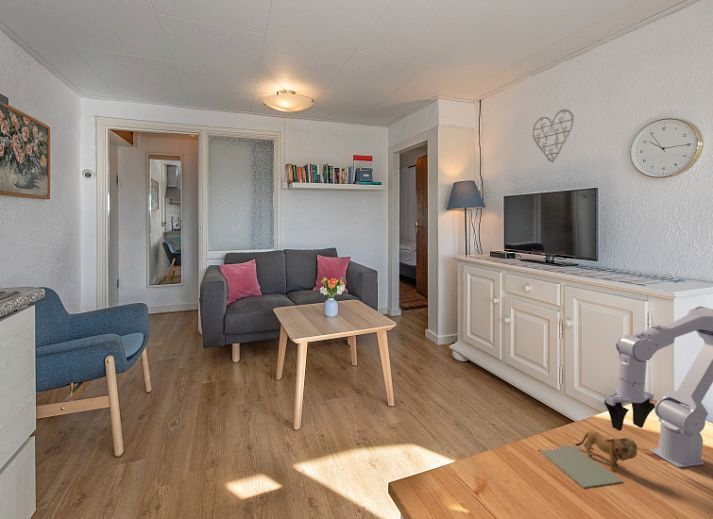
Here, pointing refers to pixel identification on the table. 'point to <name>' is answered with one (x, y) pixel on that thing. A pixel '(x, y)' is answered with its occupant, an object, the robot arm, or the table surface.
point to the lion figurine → (610, 447)
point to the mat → (580, 467)
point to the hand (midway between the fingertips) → (627, 427)
